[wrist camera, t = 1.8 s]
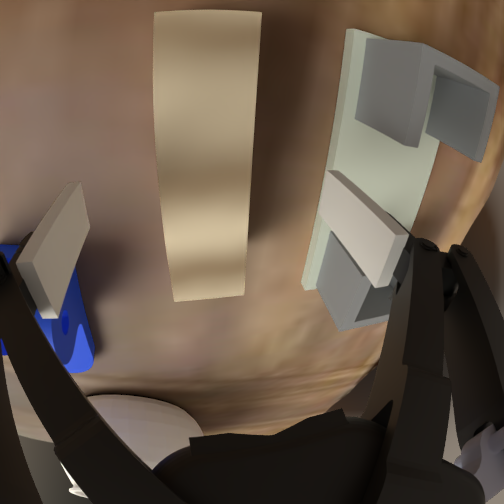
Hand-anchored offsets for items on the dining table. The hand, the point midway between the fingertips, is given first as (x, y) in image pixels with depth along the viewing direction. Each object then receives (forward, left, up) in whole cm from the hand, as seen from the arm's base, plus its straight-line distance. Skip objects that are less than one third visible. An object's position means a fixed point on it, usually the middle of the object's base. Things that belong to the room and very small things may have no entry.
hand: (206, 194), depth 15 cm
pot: (+45, -15, -7) cm, 48 cm away
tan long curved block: (0, 0, -7) cm, 7 cm away
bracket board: (+2, +16, -7) cm, 17 cm away
